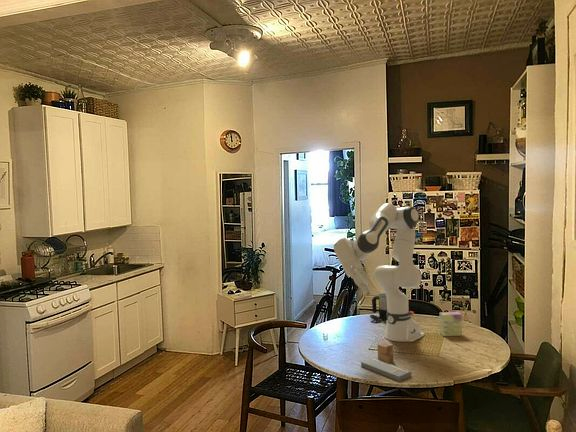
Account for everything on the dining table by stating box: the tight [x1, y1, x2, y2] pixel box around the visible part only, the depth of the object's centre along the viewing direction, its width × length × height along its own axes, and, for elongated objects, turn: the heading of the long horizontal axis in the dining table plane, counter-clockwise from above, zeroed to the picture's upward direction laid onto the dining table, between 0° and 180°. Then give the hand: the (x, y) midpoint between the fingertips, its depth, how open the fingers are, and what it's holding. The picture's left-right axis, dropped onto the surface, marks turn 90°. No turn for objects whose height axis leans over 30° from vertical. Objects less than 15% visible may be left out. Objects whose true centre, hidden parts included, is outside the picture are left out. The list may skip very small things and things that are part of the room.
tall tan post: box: [377, 341, 394, 364], centre depth 216 cm, size 5×5×8 cm
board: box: [360, 357, 412, 382], centre depth 204 cm, size 8×22×2 cm, turn 36°
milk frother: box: [369, 292, 387, 323], centre depth 285 cm, size 14×16×15 cm
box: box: [438, 311, 463, 337], centre depth 252 cm, size 10×6×12 cm, turn 92°
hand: (367, 294), depth 220 cm, fingers open, 8 cm apart
